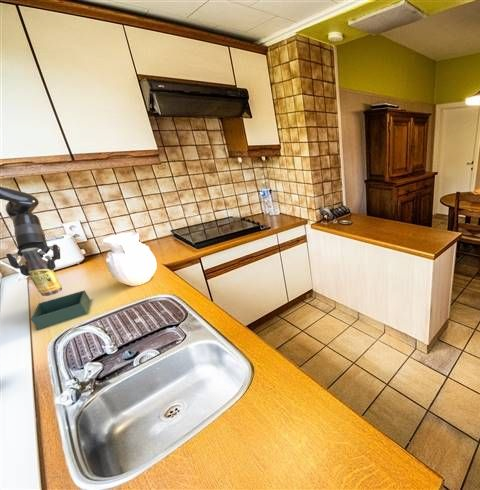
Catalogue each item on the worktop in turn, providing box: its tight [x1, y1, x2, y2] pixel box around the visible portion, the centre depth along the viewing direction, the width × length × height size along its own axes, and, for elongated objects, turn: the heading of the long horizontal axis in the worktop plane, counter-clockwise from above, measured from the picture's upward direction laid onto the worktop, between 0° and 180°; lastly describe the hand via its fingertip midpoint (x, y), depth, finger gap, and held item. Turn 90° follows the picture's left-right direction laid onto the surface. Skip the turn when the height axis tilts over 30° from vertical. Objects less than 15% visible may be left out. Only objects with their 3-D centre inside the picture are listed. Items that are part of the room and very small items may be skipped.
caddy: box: [30, 290, 91, 331], centre depth 113 cm, size 14×14×5 cm
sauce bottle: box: [21, 248, 63, 297], centre depth 107 cm, size 7×6×20 cm
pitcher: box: [102, 231, 158, 287], centre depth 133 cm, size 19×18×25 cm
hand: (39, 272), depth 105 cm, fingers closed on sauce bottle, 6 cm apart
